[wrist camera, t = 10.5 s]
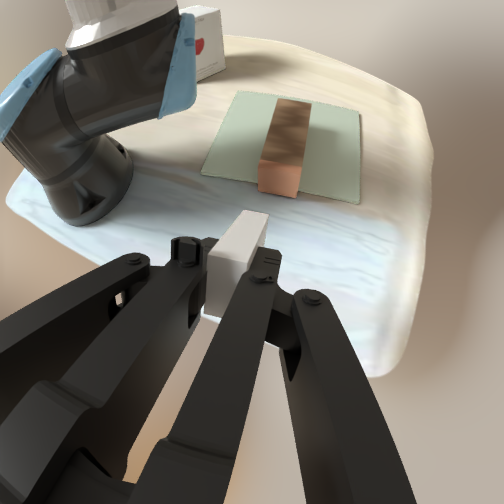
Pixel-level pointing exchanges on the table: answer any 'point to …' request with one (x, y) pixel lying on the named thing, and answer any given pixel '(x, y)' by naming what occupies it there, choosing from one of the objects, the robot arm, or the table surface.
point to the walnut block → (284, 148)
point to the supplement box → (207, 40)
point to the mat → (316, 150)
